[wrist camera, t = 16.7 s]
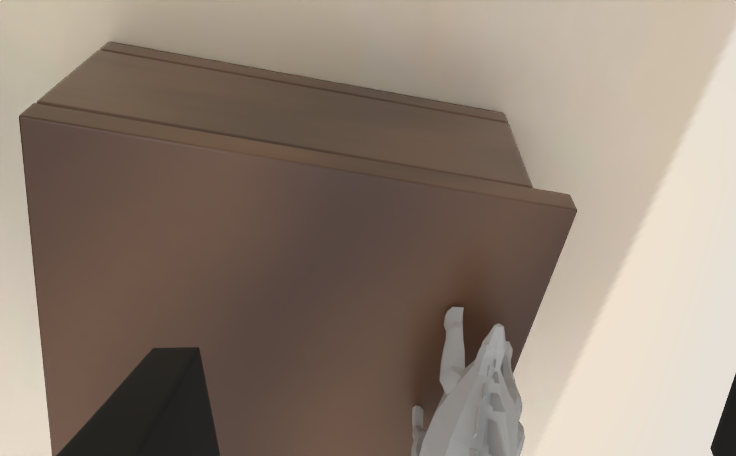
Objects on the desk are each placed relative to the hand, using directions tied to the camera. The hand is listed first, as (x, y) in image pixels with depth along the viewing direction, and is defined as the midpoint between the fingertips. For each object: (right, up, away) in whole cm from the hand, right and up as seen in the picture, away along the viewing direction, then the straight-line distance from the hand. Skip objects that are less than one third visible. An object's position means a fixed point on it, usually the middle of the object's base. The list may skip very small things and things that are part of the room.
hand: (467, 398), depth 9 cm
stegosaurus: (+1, -2, +8) cm, 8 cm away
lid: (-4, 0, +8) cm, 8 cm away
